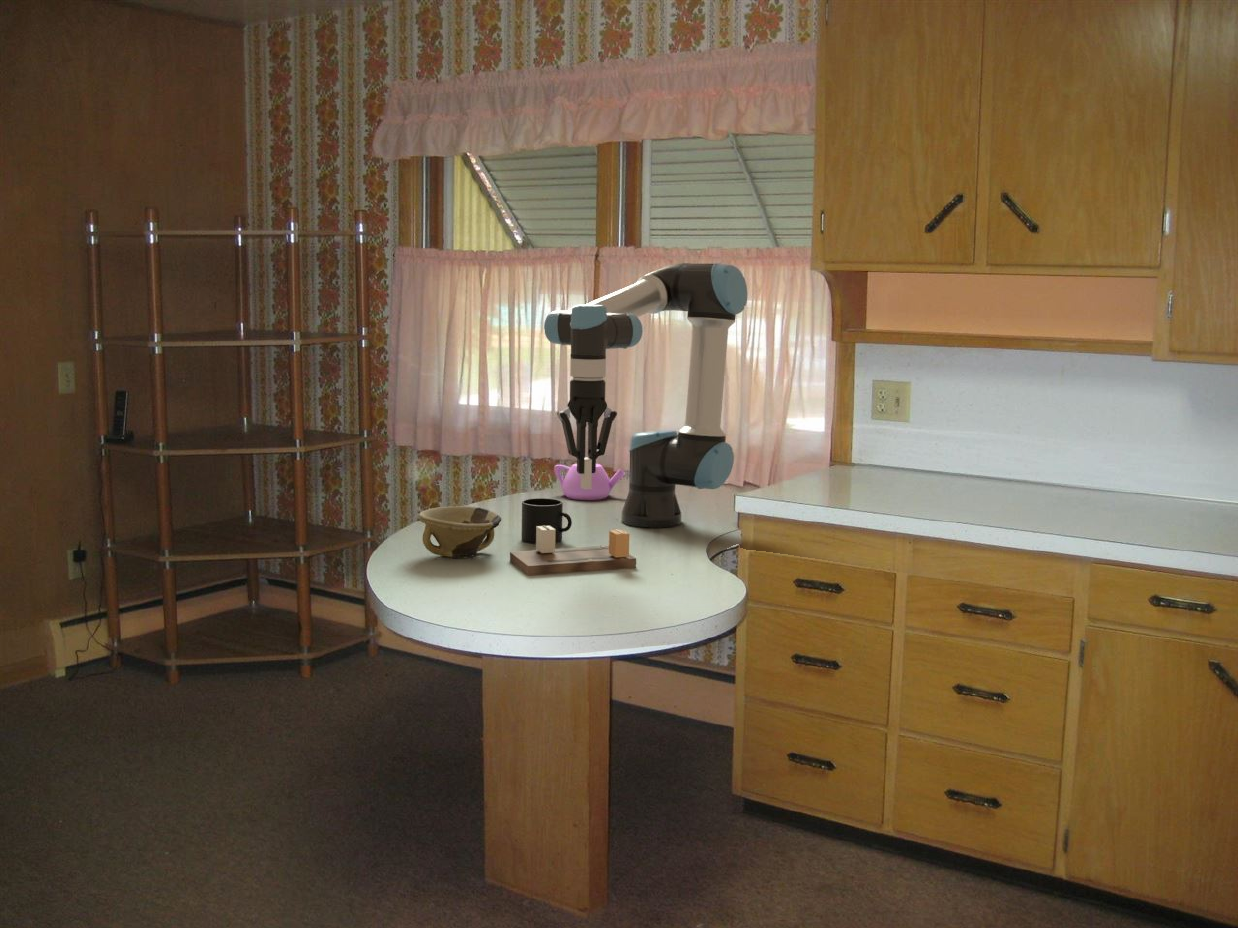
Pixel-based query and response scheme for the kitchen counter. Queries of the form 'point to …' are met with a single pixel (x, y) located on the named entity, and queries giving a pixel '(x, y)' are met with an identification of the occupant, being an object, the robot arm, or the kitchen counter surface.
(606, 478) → the teapot
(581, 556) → the console board
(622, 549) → the orange fader knob
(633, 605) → the kitchen counter surface
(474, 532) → the bowl
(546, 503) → the mug
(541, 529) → the cream fader knob
